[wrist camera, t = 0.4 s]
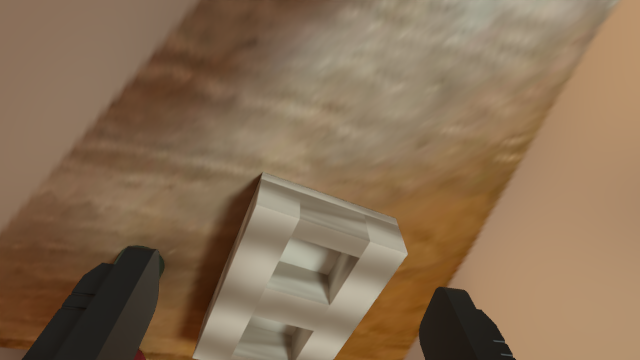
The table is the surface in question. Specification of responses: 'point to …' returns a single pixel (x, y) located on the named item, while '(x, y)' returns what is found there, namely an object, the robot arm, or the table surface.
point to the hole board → (298, 276)
